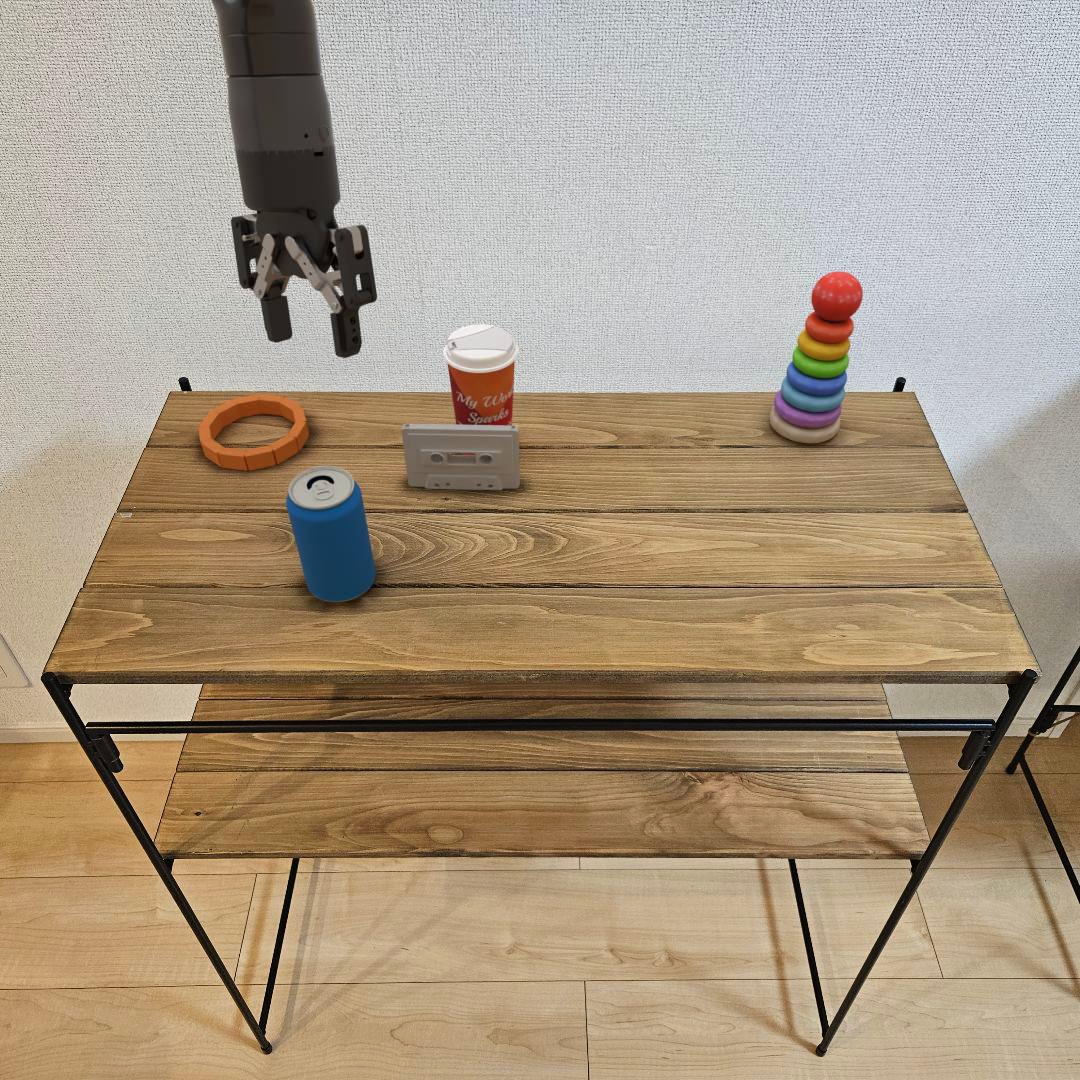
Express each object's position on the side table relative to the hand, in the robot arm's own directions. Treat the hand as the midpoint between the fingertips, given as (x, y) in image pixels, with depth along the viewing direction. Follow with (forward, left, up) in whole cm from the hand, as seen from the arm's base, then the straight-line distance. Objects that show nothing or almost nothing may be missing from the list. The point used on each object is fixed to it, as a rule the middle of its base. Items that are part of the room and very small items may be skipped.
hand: (314, 347), depth 76 cm
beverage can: (-2, -8, -21) cm, 22 cm away
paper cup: (+17, +7, -21) cm, 28 cm away
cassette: (+13, +2, -21) cm, 25 cm away
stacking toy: (+53, -1, -21) cm, 57 cm away
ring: (-7, +18, -21) cm, 28 cm away
